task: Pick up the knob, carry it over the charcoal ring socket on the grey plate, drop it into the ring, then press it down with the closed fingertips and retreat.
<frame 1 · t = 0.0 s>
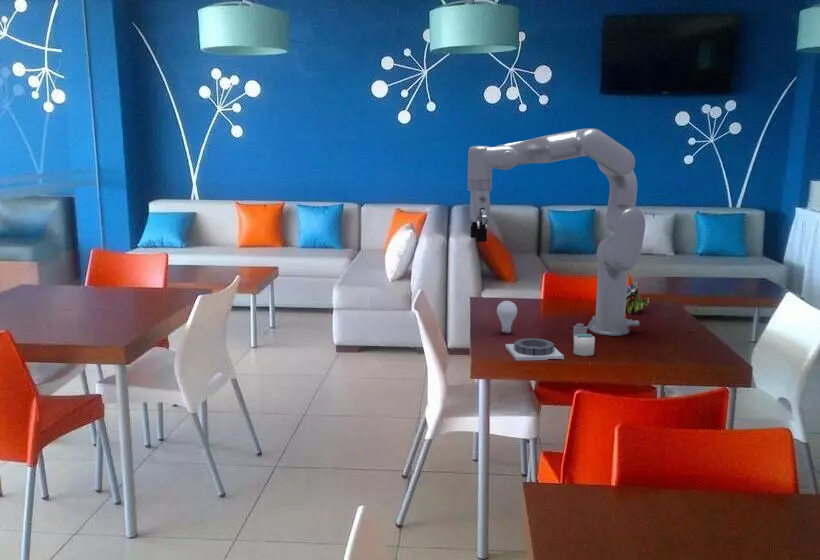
hand: (478, 239, 234), 31 cm above the table, tool pointing down, fingers open, 9 cm apart
light bulb: (506, 334, 241), on the table
knob: (583, 353, 219), on the table
lighter: (584, 340, 234), on the table
segmented ring plate: (533, 353, 219), on the table
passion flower: (630, 311, 275), on the table
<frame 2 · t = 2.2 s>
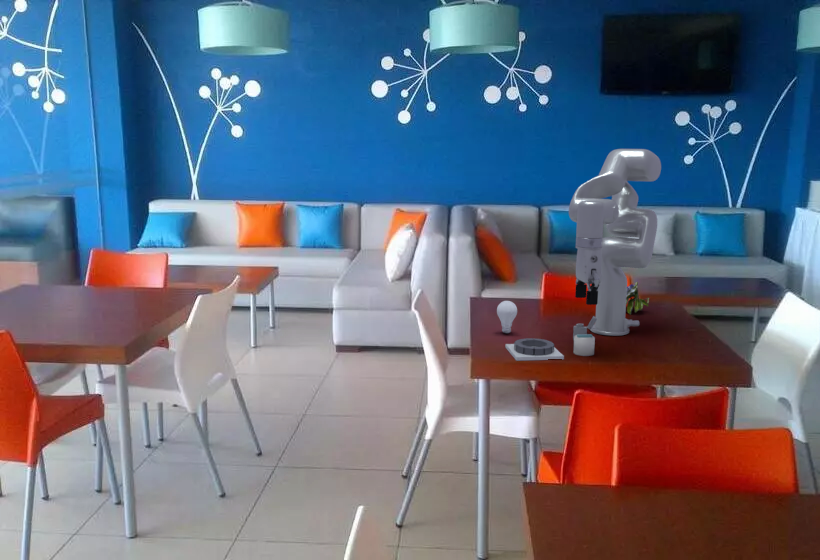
hand: (586, 301, 216), 16 cm above the table, tool pointing down, fingers open, 9 cm apart
nothing on the table moved.
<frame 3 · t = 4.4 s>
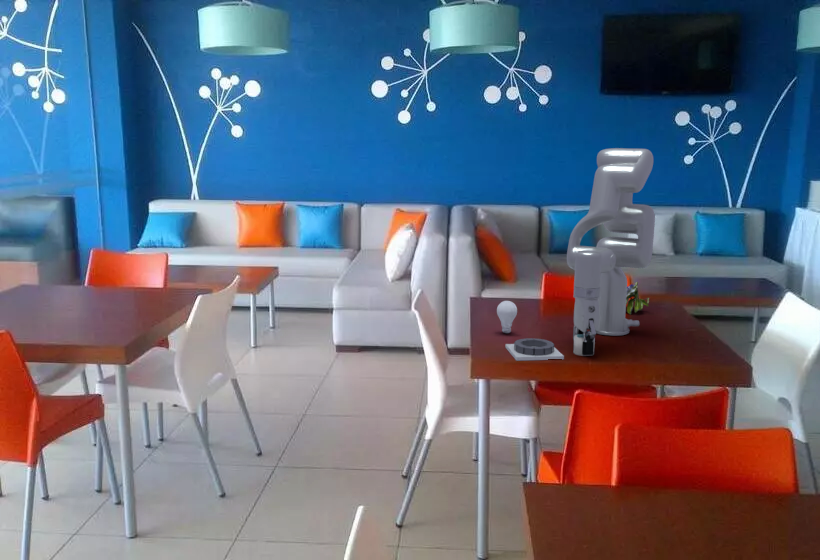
hand: (583, 351, 219), 1 cm above the table, tool pointing down, fingers closed on knob, 5 cm apart
knob: (583, 353, 219), on the table, touching gripper
everything else where it was.
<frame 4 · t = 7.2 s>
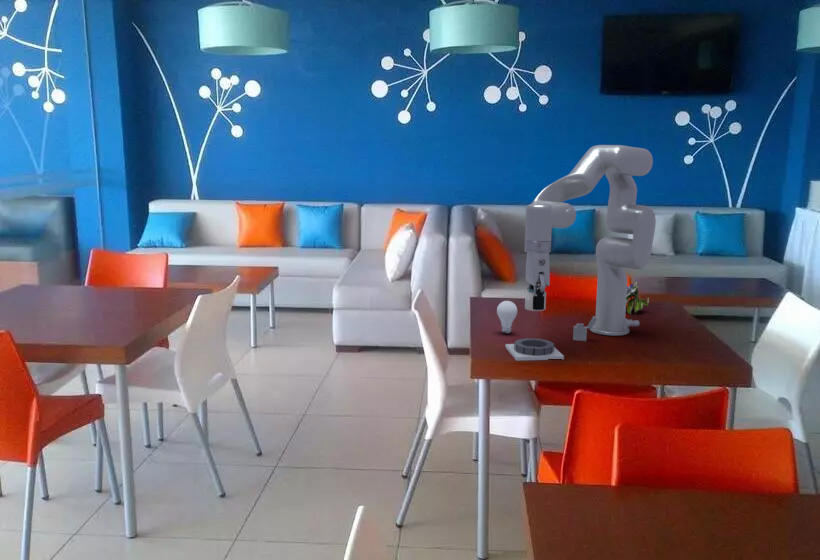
hand: (535, 306, 216), 14 cm above the table, tool pointing down, fingers closed on knob, 5 cm apart
knob: (535, 308, 216), point 14 cm above the table, touching gripper
everything else where it was.
when the fingers open (4 cm above the table, at t = 9.8 s): knob drops 2 cm, resting on segmented ring plate.
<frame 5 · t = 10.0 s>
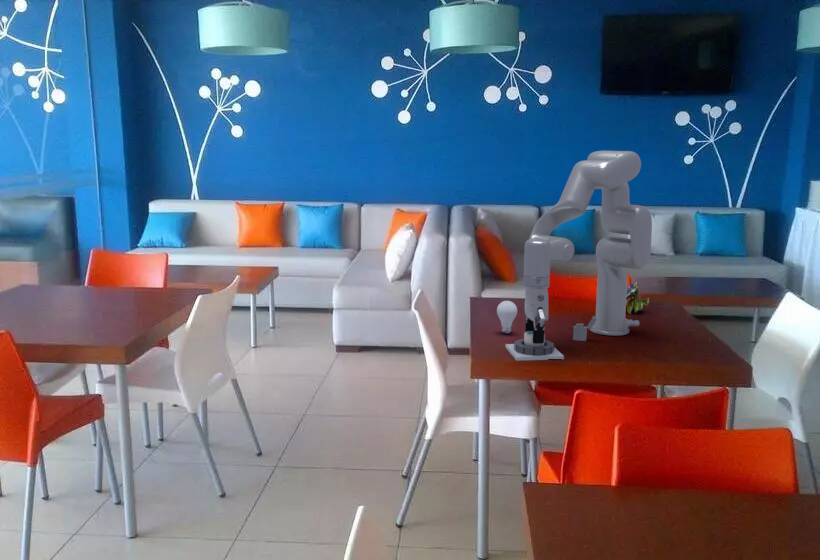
hand: (534, 339, 218), 4 cm above the table, tool pointing down, fingers open, 8 cm apart
knob: (533, 349, 219), point 1 cm above the table, touching segmented ring plate
everything else where it was.
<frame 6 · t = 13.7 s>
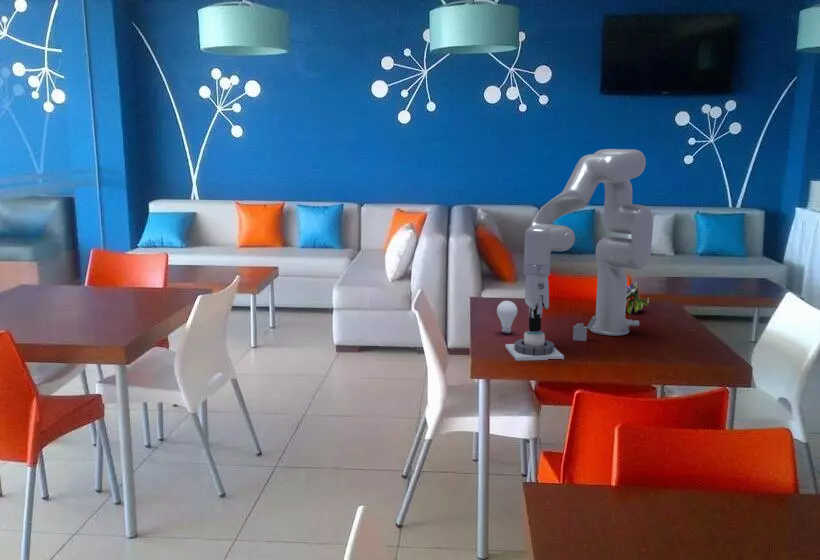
hand: (534, 330, 217), 7 cm above the table, tool pointing down, fingers closed
nothing on the table moved.
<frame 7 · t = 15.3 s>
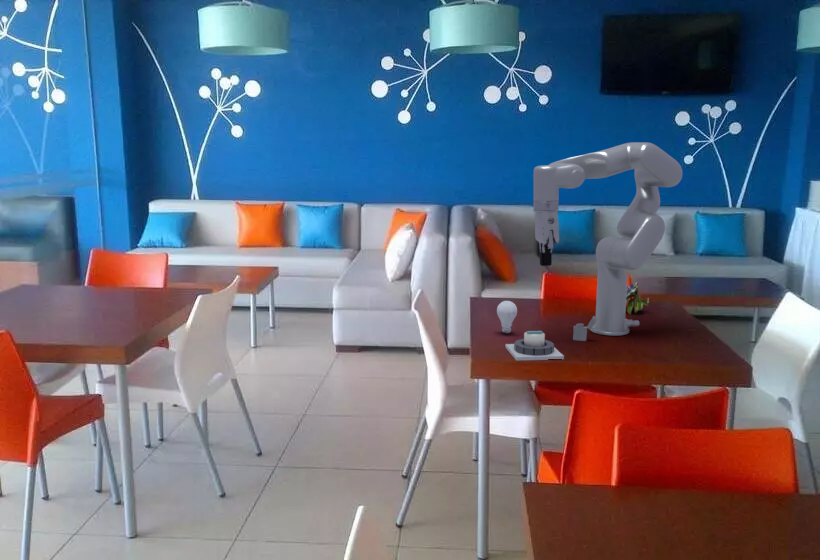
hand: (545, 265, 228), 24 cm above the table, tool pointing down, fingers closed
nothing on the table moved.
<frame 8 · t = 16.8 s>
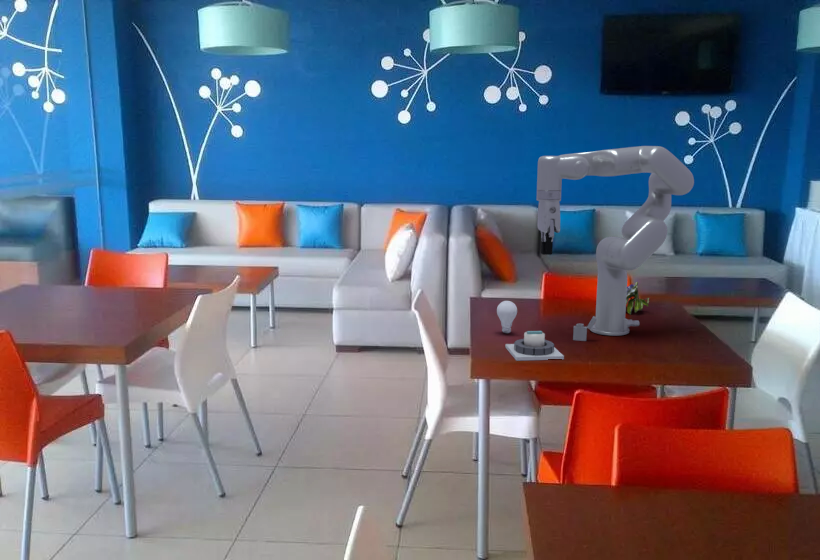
hand: (546, 254, 232), 27 cm above the table, tool pointing down, fingers closed
nothing on the table moved.
at the end: knob 0.0 cm off-centre on the segmented ring plate, point 1.0 cm above the segmented ring plate's base; knob tilted 0°; the gripper is holding nothing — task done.
